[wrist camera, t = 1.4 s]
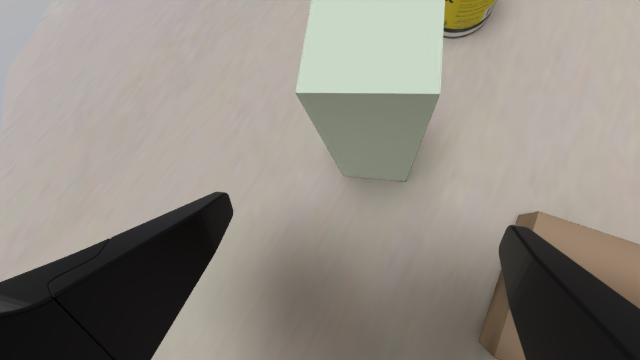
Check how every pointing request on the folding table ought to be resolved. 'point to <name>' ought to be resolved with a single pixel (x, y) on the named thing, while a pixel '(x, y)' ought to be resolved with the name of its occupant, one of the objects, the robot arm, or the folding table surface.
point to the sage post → (372, 80)
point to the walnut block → (585, 249)
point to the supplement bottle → (465, 16)
